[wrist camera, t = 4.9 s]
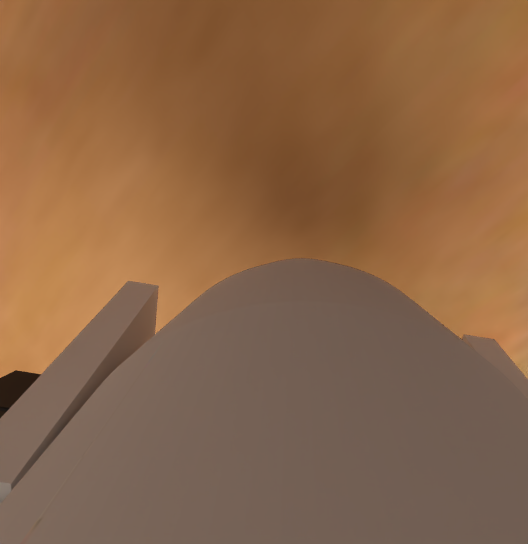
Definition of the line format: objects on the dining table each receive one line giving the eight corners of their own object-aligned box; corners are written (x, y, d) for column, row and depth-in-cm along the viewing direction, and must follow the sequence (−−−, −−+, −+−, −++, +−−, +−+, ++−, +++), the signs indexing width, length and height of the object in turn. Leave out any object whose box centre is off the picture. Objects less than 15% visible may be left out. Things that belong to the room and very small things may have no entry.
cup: (211, 491, 15) (62, 1173, 5) (103, 249, 12) (-516, 726, 3) (481, 434, 13) (906, 1206, 4) (419, 150, 11) (1125, 443, 2)
